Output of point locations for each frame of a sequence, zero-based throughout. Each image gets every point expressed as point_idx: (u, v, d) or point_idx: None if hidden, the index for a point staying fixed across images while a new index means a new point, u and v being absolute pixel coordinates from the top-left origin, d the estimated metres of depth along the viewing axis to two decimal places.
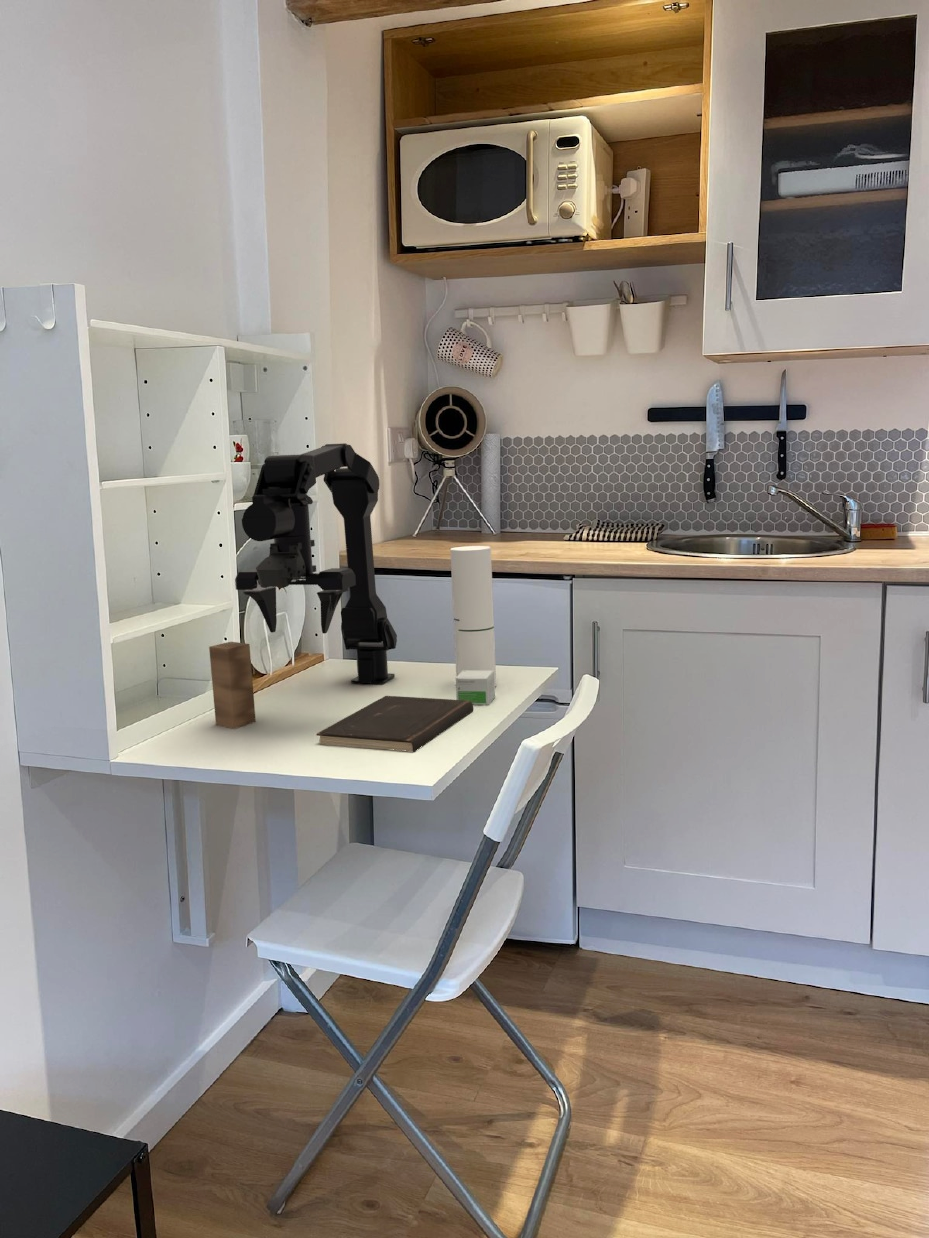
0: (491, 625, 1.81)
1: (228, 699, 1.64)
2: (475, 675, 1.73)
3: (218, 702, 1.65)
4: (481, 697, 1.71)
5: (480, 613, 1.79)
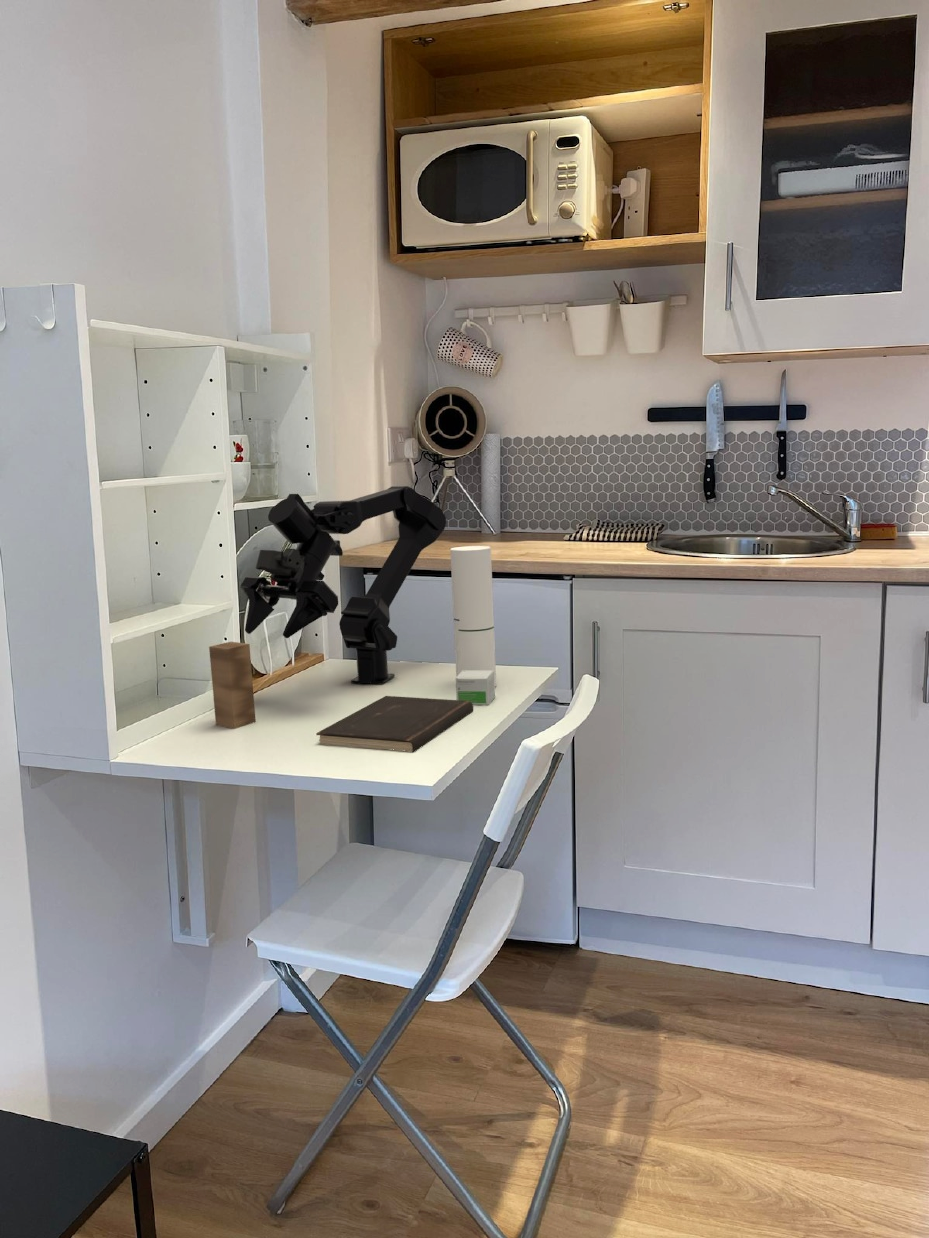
0: (491, 625, 1.81)
1: (228, 699, 1.64)
2: (475, 675, 1.73)
3: (218, 702, 1.65)
4: (481, 697, 1.71)
5: (480, 613, 1.79)
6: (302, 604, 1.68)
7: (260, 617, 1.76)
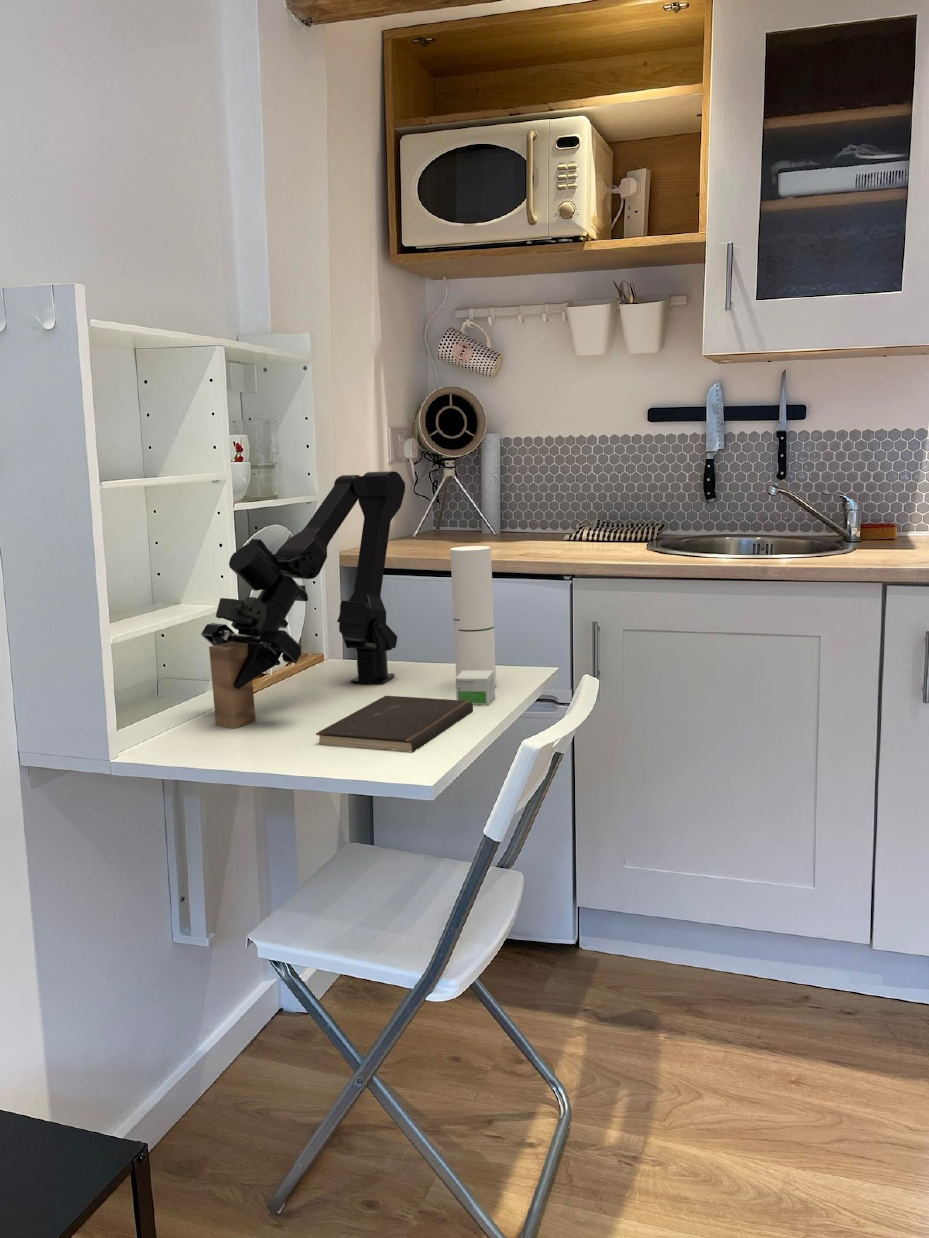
0: (491, 625, 1.81)
1: (228, 698, 1.64)
2: (475, 675, 1.73)
3: (218, 702, 1.65)
4: (481, 697, 1.71)
5: (480, 613, 1.79)
6: (254, 654, 1.64)
7: None
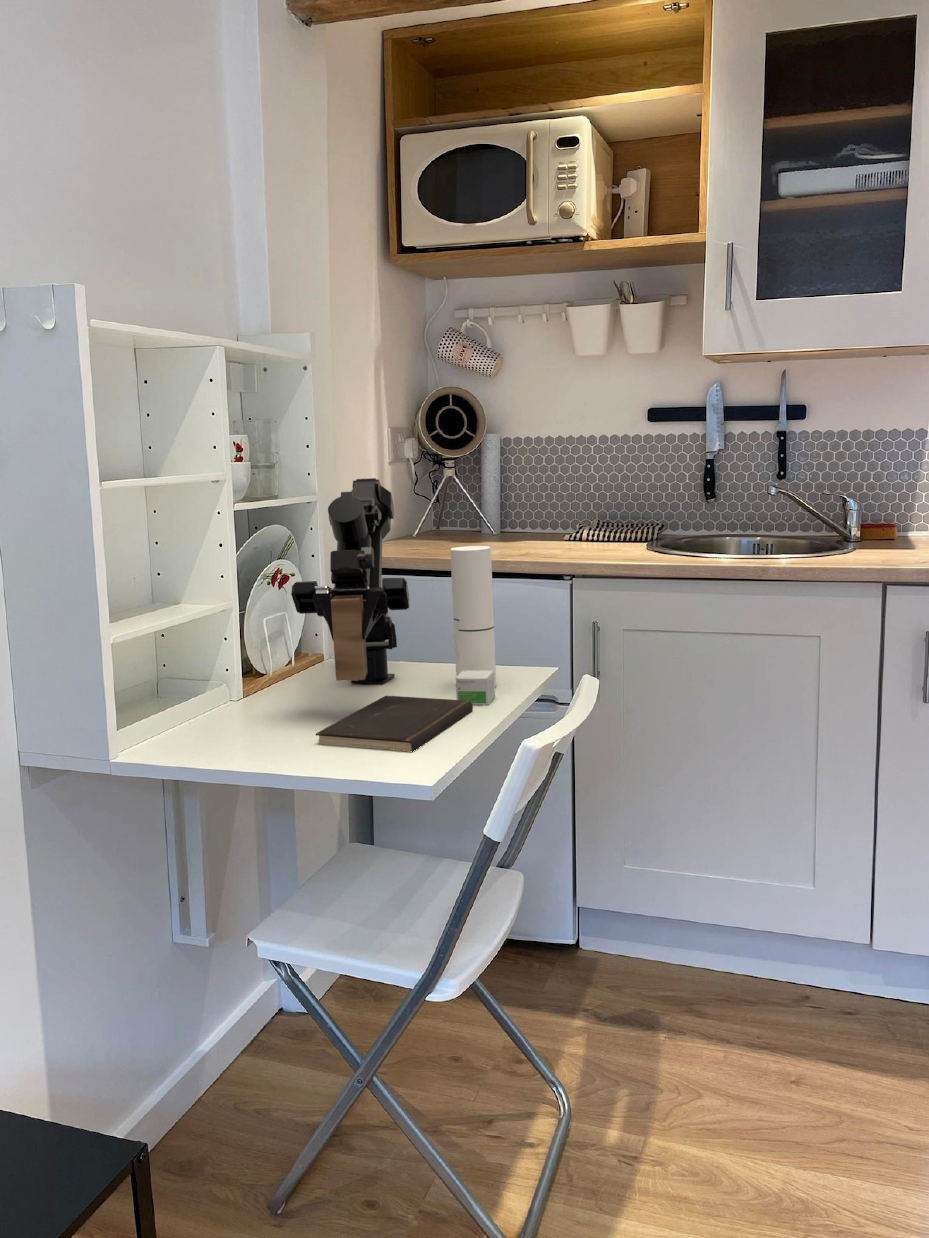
0: (491, 625, 1.81)
1: (357, 650, 1.63)
2: (475, 675, 1.73)
3: (341, 656, 1.63)
4: (481, 697, 1.71)
5: (480, 613, 1.79)
6: (375, 603, 1.65)
7: None
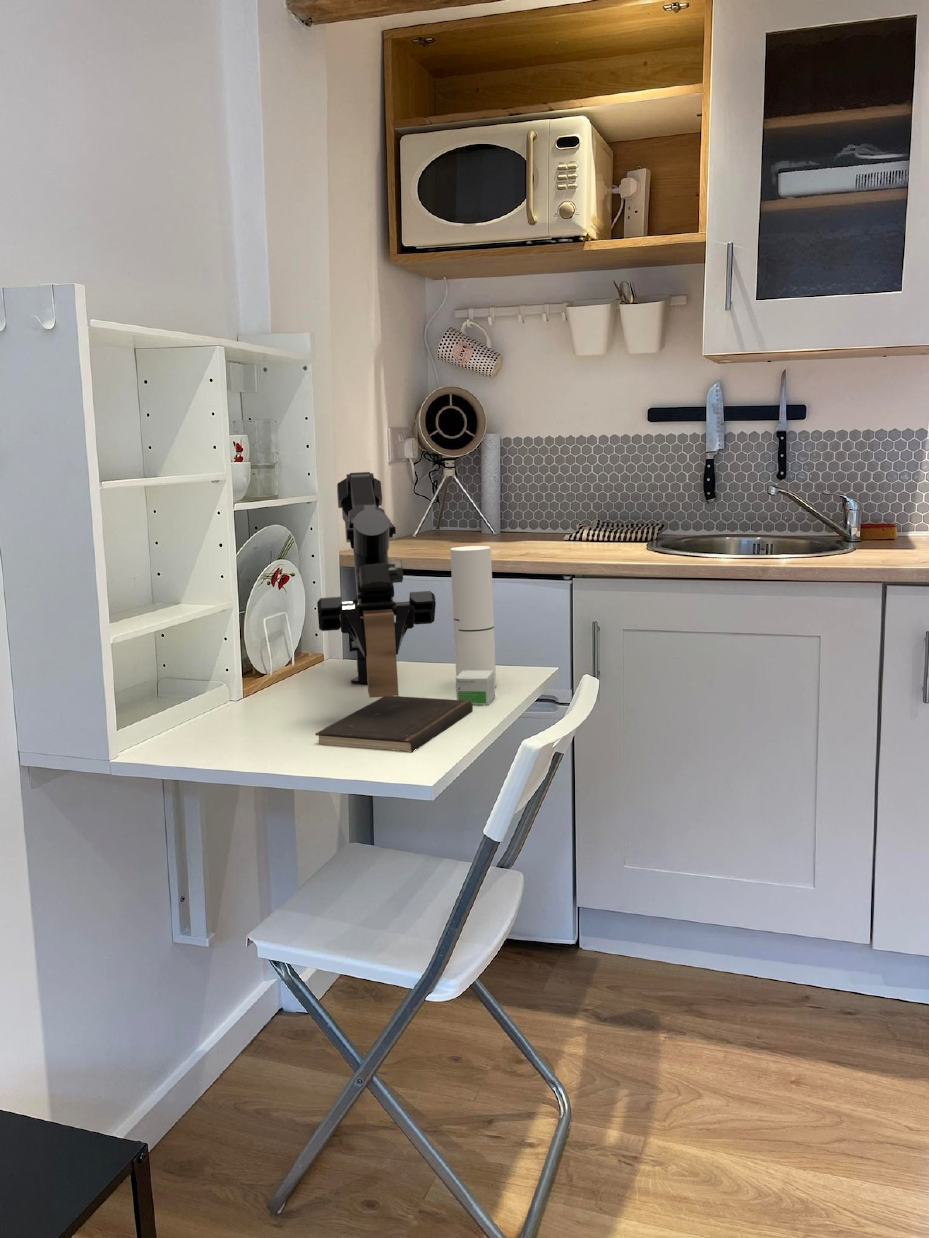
0: (491, 625, 1.81)
1: (391, 666, 1.60)
2: (475, 675, 1.73)
3: (375, 672, 1.59)
4: (481, 697, 1.71)
5: (480, 613, 1.79)
6: (405, 617, 1.62)
7: None
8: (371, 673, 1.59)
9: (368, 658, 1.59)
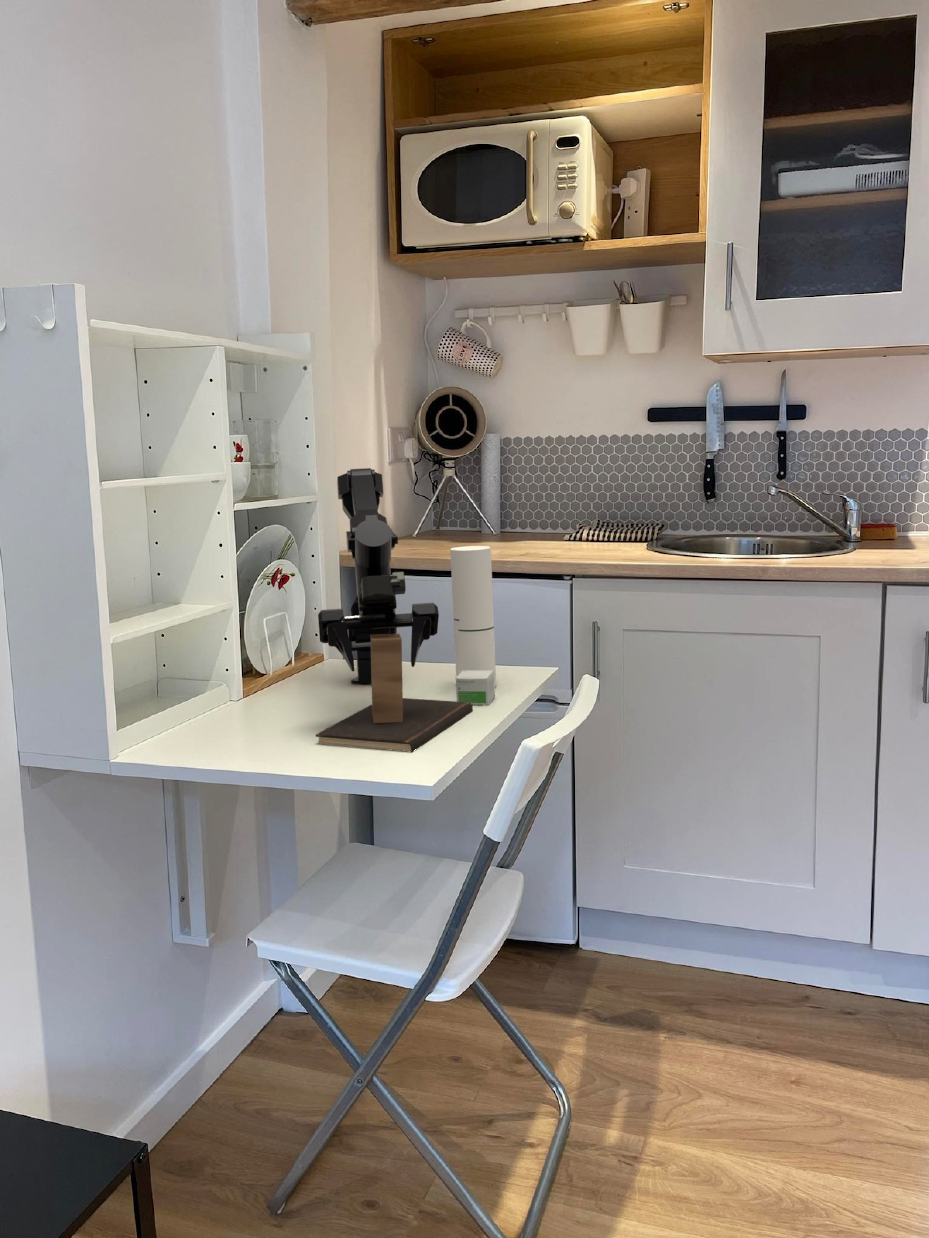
0: (491, 625, 1.81)
1: (397, 691, 1.57)
2: (475, 675, 1.73)
3: (380, 698, 1.57)
4: (481, 697, 1.71)
5: (480, 613, 1.79)
6: (421, 629, 1.60)
7: None
8: (376, 698, 1.57)
9: (374, 683, 1.56)
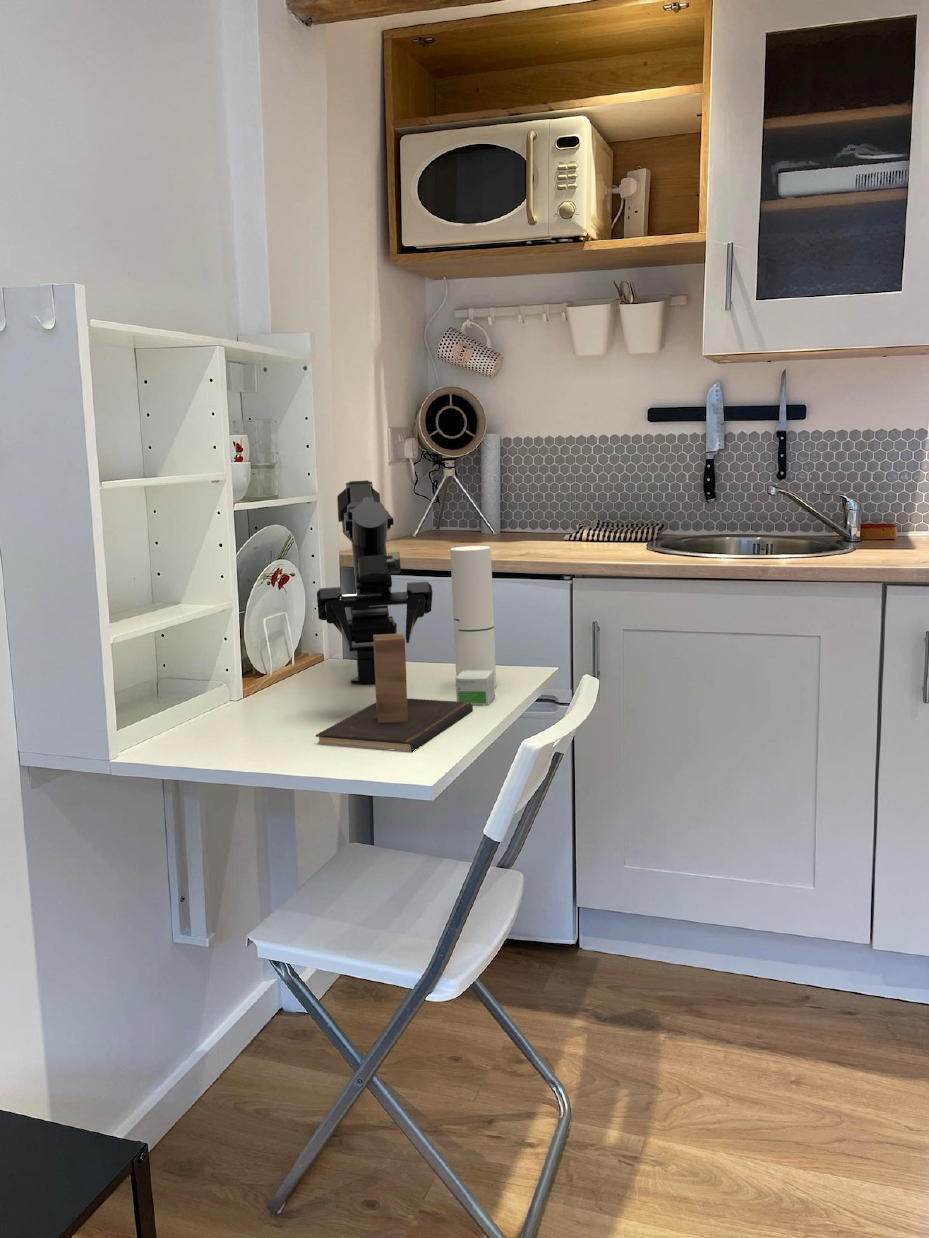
0: (491, 625, 1.81)
1: (401, 691, 1.57)
2: (475, 675, 1.73)
3: (384, 698, 1.57)
4: (481, 697, 1.71)
5: (480, 613, 1.79)
6: (416, 607, 1.67)
7: None
8: (381, 698, 1.57)
9: (378, 683, 1.57)
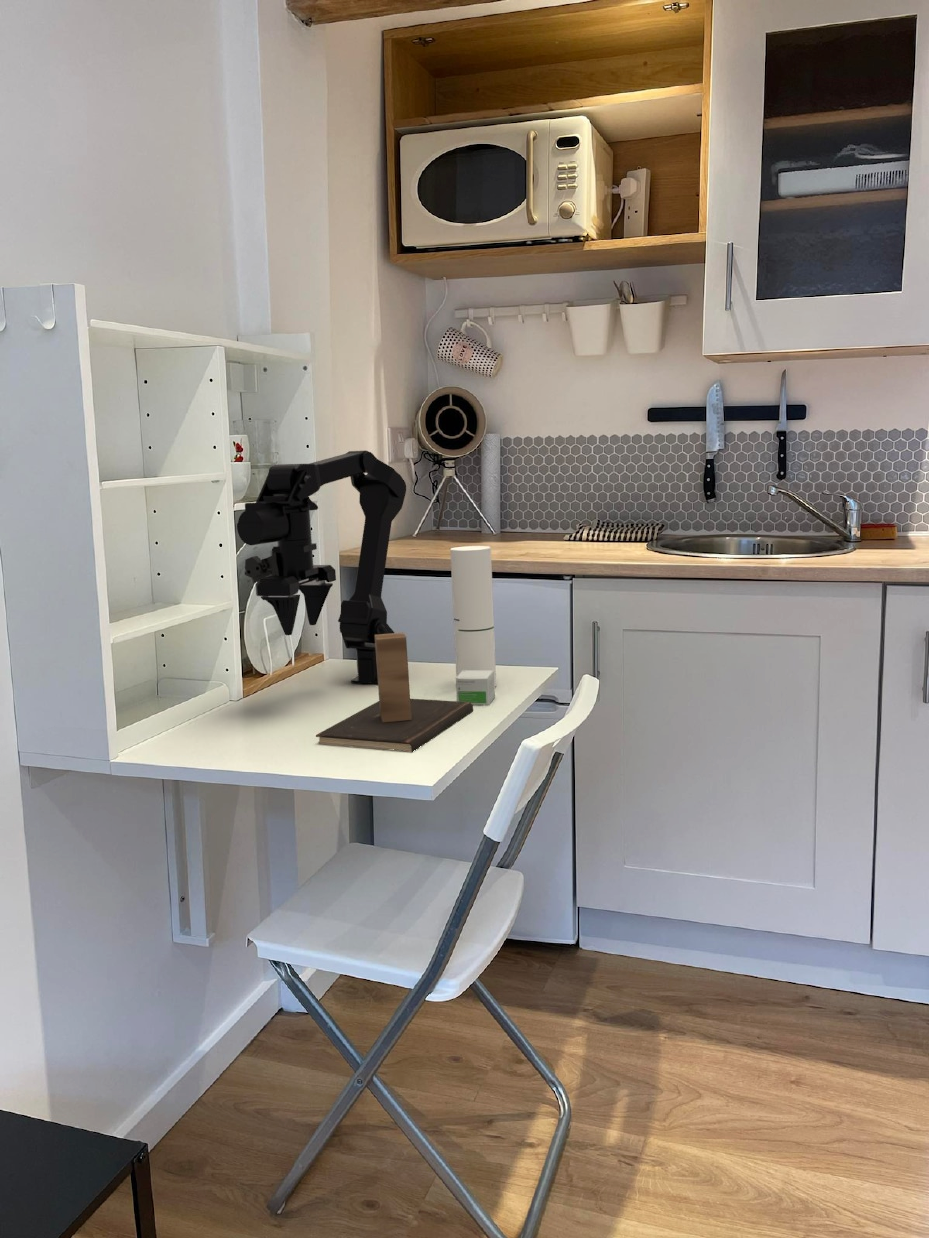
0: (491, 625, 1.81)
1: (404, 690, 1.58)
2: (475, 675, 1.73)
3: (388, 697, 1.58)
4: (481, 697, 1.71)
5: (480, 613, 1.79)
6: (271, 604, 1.69)
7: (316, 603, 1.79)
8: (384, 697, 1.57)
9: (381, 682, 1.57)
